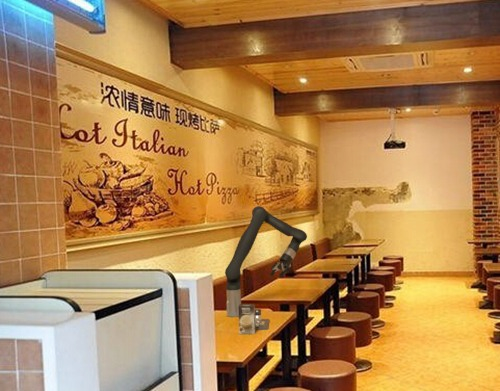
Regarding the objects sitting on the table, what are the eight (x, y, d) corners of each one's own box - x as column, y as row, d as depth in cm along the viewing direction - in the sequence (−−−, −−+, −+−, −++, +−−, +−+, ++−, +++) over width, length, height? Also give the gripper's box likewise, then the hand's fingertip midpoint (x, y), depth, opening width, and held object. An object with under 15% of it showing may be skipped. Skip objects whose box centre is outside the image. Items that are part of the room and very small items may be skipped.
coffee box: (238, 334, 331) (237, 306, 331) (240, 331, 337) (238, 304, 337) (254, 334, 330) (253, 305, 330) (255, 331, 336) (254, 303, 336)
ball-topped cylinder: (254, 323, 350) (253, 310, 350) (254, 322, 354) (253, 309, 354) (261, 323, 350) (261, 310, 350) (261, 321, 354) (260, 308, 354)
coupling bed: (245, 330, 340) (245, 324, 340) (248, 320, 364) (248, 315, 364) (267, 329, 340) (267, 323, 340) (269, 320, 363) (269, 315, 363)
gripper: (277, 252, 381) (264, 271, 373) (292, 253, 370) (279, 273, 362) (283, 259, 384) (271, 279, 377) (298, 260, 373) (286, 281, 366)
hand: (275, 276), depth 370 cm, fingers open, 8 cm apart
